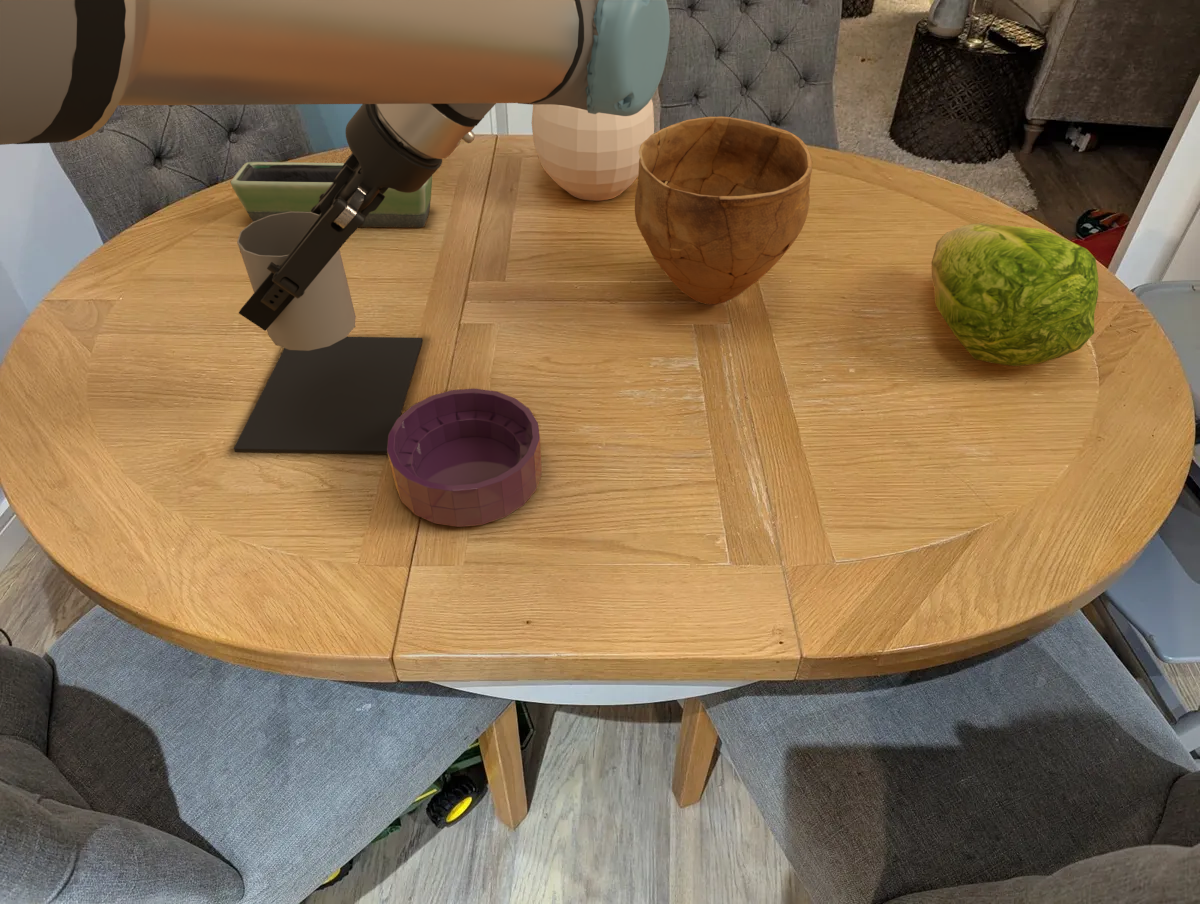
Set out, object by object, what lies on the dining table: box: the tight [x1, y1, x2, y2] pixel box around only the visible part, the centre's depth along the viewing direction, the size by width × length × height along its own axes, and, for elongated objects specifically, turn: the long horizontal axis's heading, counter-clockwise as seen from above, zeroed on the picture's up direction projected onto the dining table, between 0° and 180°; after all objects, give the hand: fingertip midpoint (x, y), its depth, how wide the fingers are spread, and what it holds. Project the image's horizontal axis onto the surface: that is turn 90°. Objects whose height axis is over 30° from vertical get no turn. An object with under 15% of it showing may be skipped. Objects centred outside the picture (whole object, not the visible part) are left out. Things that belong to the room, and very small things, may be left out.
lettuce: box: [930, 222, 1099, 367], centre depth 97 cm, size 17×24×14 cm
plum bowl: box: [387, 388, 543, 528], centre depth 79 cm, size 14×14×6 cm
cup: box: [237, 212, 357, 351], centre depth 76 cm, size 8×8×10 cm
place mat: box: [233, 336, 424, 455], centre depth 90 cm, size 20×16×1 cm
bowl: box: [634, 115, 813, 305], centre depth 98 cm, size 21×20×20 cm
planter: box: [230, 161, 433, 228], centre depth 118 cm, size 28×7×7 cm, turn 89°
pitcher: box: [531, 98, 655, 202], centre depth 120 cm, size 19×18×25 cm
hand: (268, 293), depth 77 cm, fingers closed on cup, 8 cm apart
